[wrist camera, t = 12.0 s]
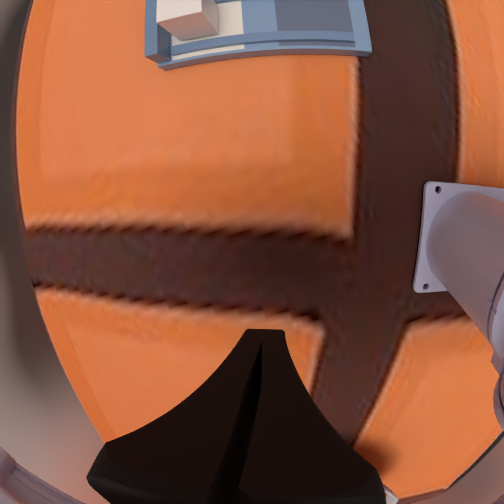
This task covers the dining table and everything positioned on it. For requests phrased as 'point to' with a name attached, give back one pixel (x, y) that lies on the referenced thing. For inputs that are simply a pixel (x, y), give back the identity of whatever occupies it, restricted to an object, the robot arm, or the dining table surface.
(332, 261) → the dining table surface
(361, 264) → the dining table surface
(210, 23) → the tab
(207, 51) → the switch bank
